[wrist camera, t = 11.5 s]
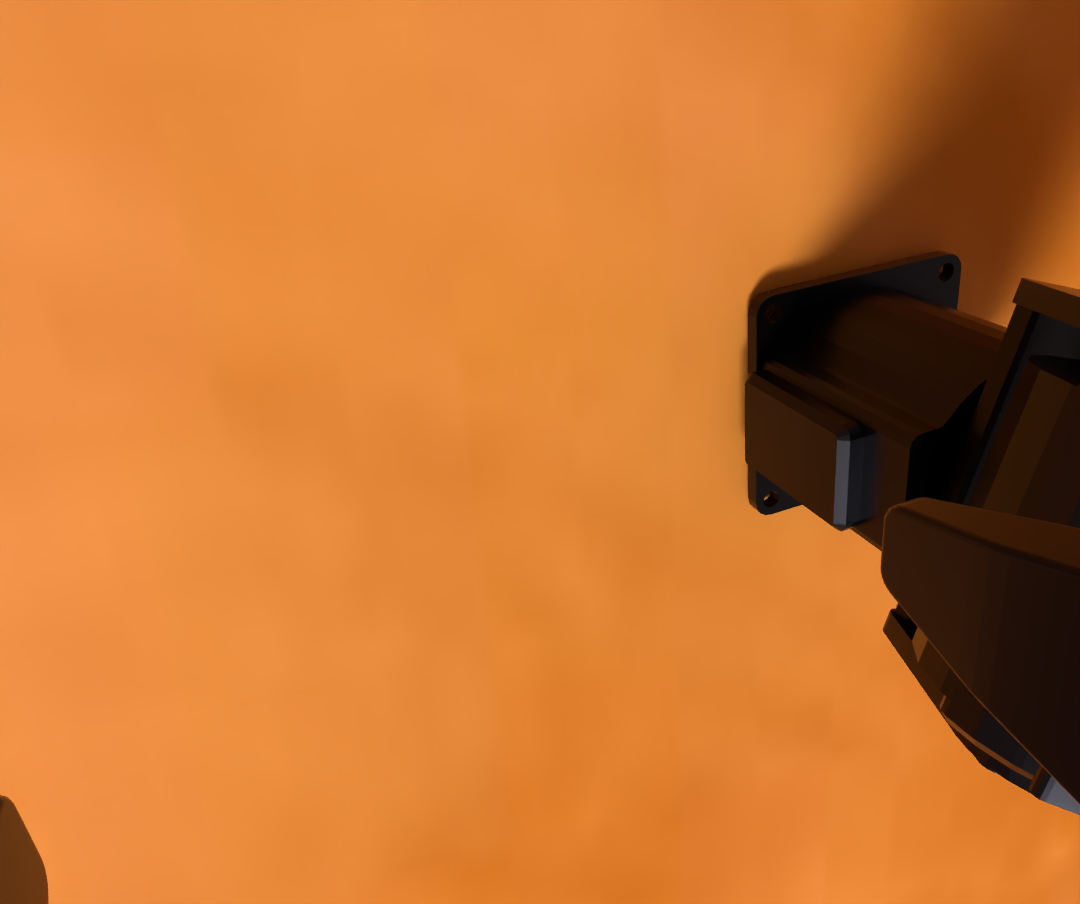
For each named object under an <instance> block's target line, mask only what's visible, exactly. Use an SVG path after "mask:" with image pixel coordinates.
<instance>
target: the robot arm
mask: <svg viewBox="0 0 1080 904" xmlns="http://www.w3.org/2000/svg"><path fill="white" fill-rule="evenodd" d="M942 266H943V270H942V273H941V274H940V275H939V271H940V269H941V267H942ZM960 274H961V262H960V260H959V258H958V257H957V256H955V255H954V254H951V253H947V252H944V251H937V252H932V253H928V254H924V255H919V256H915V257H911V258H907V259H902V260H898V261H894V262H889V263H885V264H881V265H876V266H872V267H868V268H864V269H859V270H855V271H851V272H846V273H842V274H838V275H834V276H829V277H825V278H821V279H816V280H812V281H808V282H804V283H799V284H795V285H791V286H786V287H782V288H778V289H774V290H769V291H765V292H763V293H760V294H758V295H757V296H756V297H755V298H754V299H753V300H752V302H751V304H750V306H749V311H748V377H747V380H746V382H745V461H746V463H747V464H748V498H749V503H750V504H751V505H752V507H753V508H755V509H756V510H757V511H758V512H760V513H761V514H764V515H769V514H774V513H777V512H780V511H783V510H787V509H790V508H793V507H796V506H799V505H804V506H805V507H807V508H808V509H809V510H811V511H812V512H813V513H815V514H816V515H818V516H819V517H820V518H822V519H823V520H824V521H826V522H827V523H828V524H830V525H831V526H833V527H834V528H835V529H837V530H839V531H844V530H847V529H851V530H853V531H854V532H855V533H857V534H858V535H860V536H861V537H862V538H864V539H865V540H867V541H868V542H869V543H871V544H872V545H874V546H875V547H876V548H878V549H879V550H881V551H882V555H881V574H882V578H883V581H884V583H885V585H886V587H887V589H888V590H889V592H890V593H891V594H892V596H893V597H894V598H895V599H896V601H897V602H898V604H897V606H896V609H891V610H890V612H889V615H888V617H887V620H886V622H885V625H884V627H883V632H884V633H885V635H886V636H887V637H888V639H889V640H890V642H891V643H892V645H893V646H894V647H895V649H896V650H897V652H898V653H899V655H900V656H901V657H902V659H903V660H904V662H905V663H906V665H907V666H908V667H909V669H910V670H911V672H912V673H913V675H914V676H915V677H916V679H917V680H918V682H919V683H920V685H921V686H922V687H923V689H924V690H925V692H926V693H927V695H928V696H929V698H930V699H931V700H932V702H933V703H934V705H935V706H936V708H937V709H938V710H939V712H940V713H941V715H942V716H943V718H944V719H945V720H946V722H947V723H948V725H949V726H950V728H951V729H952V730H953V732H954V733H955V735H956V736H957V737H958V738H959V740H960V741H961V742H962V743H963V744H964V745H965V747H966V748H967V749H968V750H969V751H970V752H971V753H972V754H973V755H974V756H975V757H976V759H977V760H978V762H979V763H980V764H981V765H982V766H984V767H985V768H987V769H988V770H990V771H992V772H994V773H997V774H999V775H1001V776H1002V777H1003V778H1005V779H1006V780H1008V781H1010V782H1011V783H1013V784H1015V785H1017V786H1019V787H1020V788H1022V789H1024V790H1026V791H1028V792H1029V793H1031V794H1033V795H1034V796H1035V797H1036V798H1038V799H1040V800H1042V801H1044V802H1047V803H1049V804H1052V805H1055V806H1057V807H1060V808H1063V809H1065V810H1068V811H1071V812H1073V813H1076V814H1079V815H1080V290H1079V289H1074V288H1070V287H1065V286H1060V285H1055V284H1050V283H1045V282H1040V281H1035V280H1030V279H1026V278H1022V279H1021V281H1020V284H1019V286H1018V289H1017V291H1016V294H1015V296H1014V299H1013V303H1015V304H1017V305H1016V307H1015V310H1014V312H1013V315H1012V317H1011V320H1010V322H1009V325H1008V327H1007V328H1006V327H1003V326H1001V325H998V324H995V323H992V322H989V321H986V320H983V319H981V318H978V317H975V316H972V315H969V314H966V313H964V312H961V311H958V310H957V303H958V293H959V284H960ZM771 305H773V311H772V314H771V315H770V316H769V317H768V318H767V319H765V312H766V310H767V309H768V308H769V307H770V306H771ZM769 492H771V494H770V496H769V497H768V498H767V499H766V500H764V497H765V496H766V495H767V493H769ZM0 904H48V883H47V876H46V871H45V867H44V864H43V861H42V859H41V856H40V854H39V852H38V850H37V848H36V846H35V844H34V842H33V840H32V838H31V836H30V834H29V832H28V830H27V828H26V826H25V824H24V822H23V820H22V818H21V817H20V815H19V813H18V811H17V809H16V807H15V805H14V803H13V802H12V801H11V800H10V799H9V798H8V797H5V796H1V795H0Z"/></svg>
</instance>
